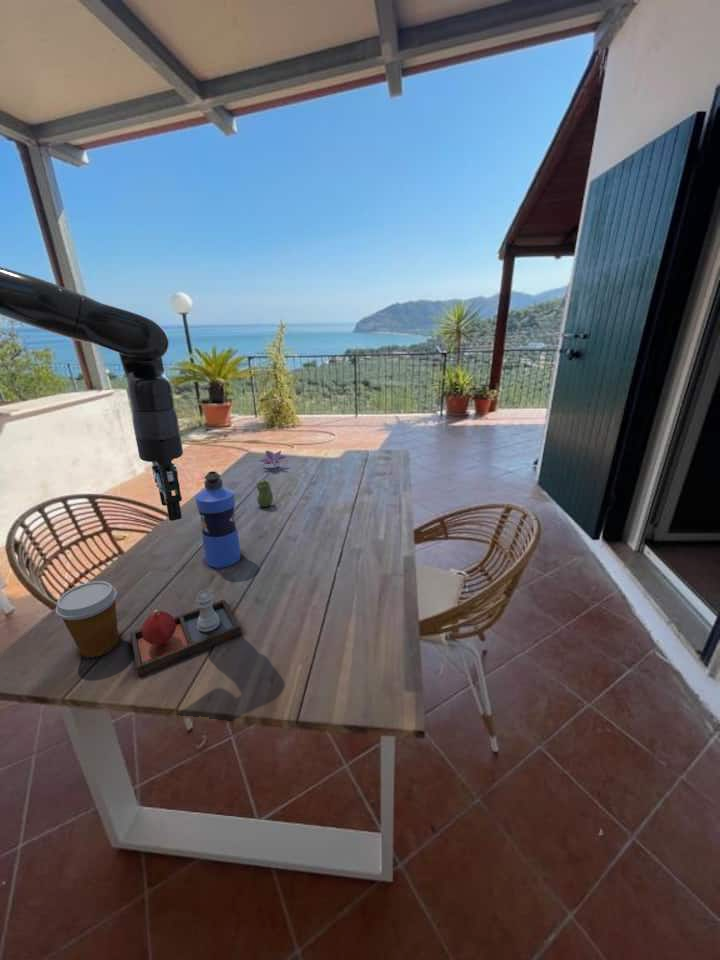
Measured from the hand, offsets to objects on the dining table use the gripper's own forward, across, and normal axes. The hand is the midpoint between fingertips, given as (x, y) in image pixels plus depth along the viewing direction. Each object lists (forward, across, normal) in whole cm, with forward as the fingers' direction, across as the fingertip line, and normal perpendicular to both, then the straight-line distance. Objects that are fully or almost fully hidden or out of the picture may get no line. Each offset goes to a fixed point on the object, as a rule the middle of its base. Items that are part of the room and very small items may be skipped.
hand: (171, 511), depth 78 cm
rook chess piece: (+24, +9, +2) cm, 25 cm away
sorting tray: (+24, +9, -2) cm, 26 cm away
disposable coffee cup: (+24, +2, -17) cm, 30 cm away
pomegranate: (+24, +9, -6) cm, 26 cm away
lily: (+24, -82, +54) cm, 102 cm away
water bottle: (+24, -17, +13) cm, 32 cm away
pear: (+24, -44, +36) cm, 62 cm away
